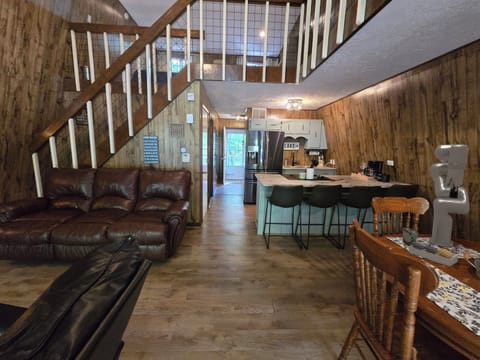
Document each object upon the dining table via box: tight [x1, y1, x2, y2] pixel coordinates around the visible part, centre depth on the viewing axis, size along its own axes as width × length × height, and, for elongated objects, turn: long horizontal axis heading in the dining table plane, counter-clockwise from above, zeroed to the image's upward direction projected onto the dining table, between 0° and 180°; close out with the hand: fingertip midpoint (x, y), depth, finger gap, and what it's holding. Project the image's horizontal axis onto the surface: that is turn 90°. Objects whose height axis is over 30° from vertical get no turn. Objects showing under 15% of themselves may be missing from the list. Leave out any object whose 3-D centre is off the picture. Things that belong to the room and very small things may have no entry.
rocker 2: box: [423, 244, 439, 254], centre depth 132 cm, size 4×6×2 cm
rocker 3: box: [437, 248, 454, 258], centre depth 126 cm, size 4×6×2 cm
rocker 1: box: [411, 241, 425, 249], centre depth 138 cm, size 4×6×2 cm
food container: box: [402, 227, 419, 247], centre depth 151 cm, size 12×6×10 cm, turn 168°
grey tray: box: [408, 246, 459, 267], centre depth 134 cm, size 10×20×4 cm, turn 30°
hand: (453, 197), depth 131 cm, fingers closed
